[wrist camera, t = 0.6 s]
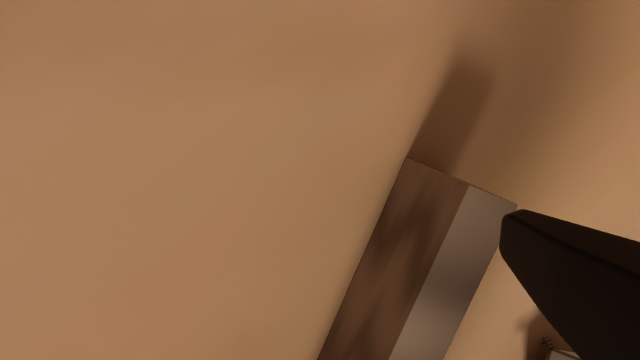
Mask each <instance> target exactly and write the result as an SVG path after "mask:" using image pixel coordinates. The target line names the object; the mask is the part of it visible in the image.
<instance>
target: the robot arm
mask: <svg viewBox="0 0 640 360" xmlns="http://www.w3.org/2000/svg"><path fill="white" fill-rule="evenodd" d="M499 249H500V253H501V255H502V257H503V259H504V261H505V262H506V263H507V265H508V266H509V268H510V269H511V270H512V272H513V273H514V275H515V276H516V277H517V279H518V280H519V282H520V283H521V284H522V286H523V287H524V289H525V290H526V291H527V293H528V294H529V296H530V297H531V299H532V300H533V301H534V303H535V304H536V306H537V307H538V308H539V310H540V311H541V312H542V314H543V315H544V316H545V318H546V319H547V320H548V322H549V323H550V324H551V325H552V326H553V328H554V329H555V330H556V331H557V332H558V334H559V335H560V336H561V337H562V338H563V339H564V340H565V342H566V343H567V344H568V345H569V346H570V347H571V348H572V350H573V351H574V352H575V353H576V354H577V355H578V357H579V358H580V359H581V360H640V242H638V241H634V240H631V239H627V238H624V237H620V236H617V235H613V234H610V233H606V232H603V231H599V230H596V229H592V228H589V227H585V226H582V225H578V224H575V223H571V222H568V221H564V220H561V219H557V218H554V217H550V216H547V215H543V214H540V213H536V212H533V211H529V210H525V209H521V210H517V211H514V212H511V213H508V214H506V215H504V216H503V218H502V221H501V231H500V242H499Z"/></svg>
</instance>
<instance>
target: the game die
mask: <svg viewBox="0 0 640 360" xmlns="http://www.w3.org/2000/svg"><path fill="white" fill-rule="evenodd" d="M550 341H551V340H548V339H546V338H545V337H544V343H543V344H545V347H547V348H548V349H549V351H548V353H547V356H546V358H545V360H581V359H580V358H579V357H578V355H577V354H576V353H575V352H574V351H568V350H562V349H556V348H553V346H552V343H551V342H550Z"/></svg>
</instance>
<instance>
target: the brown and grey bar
mask: <svg viewBox="0 0 640 360" xmlns="http://www.w3.org/2000/svg"><path fill="white" fill-rule="evenodd" d="M517 206H518V205H517V204H515V203H513V202H510V201H508V200H506V199H503V198H501V197H499V196H497V195H494V194H492V193H490V192H487V191H485V190H483V189H481V188H478V187H476V186H474V185H471V184H469V183H467V182H464V181H462V180H460V179H458V178H455V177H453V176H451V175H448V174H446V173H444V172H441V171H439V170H436V169H434V168H431V167H429V166H426V165H424V164H421V163H419V162H416V161H414V160H411V159H409V158H407V157H406V159H405V161H404V163H403V166H402V168H401V170H400V173H399V175H398V177H397V179H396V182H395V184H394V186H393V189H392V191H391V193H390V195H389V198H388V200H387V202H386V204H385V207H384V209H383V211H382V214H381V216H380V218H379V220H378V223H377V225H376V227H375V230H374V232H373V234H372V236H371V239H370V241H369V243H368V246H367V248H366V250H365V252H364V255H363V257H362V259H361V262H360V264H359V266H358V268H357V271H356V273H355V275H354V278H353V280H352V282H351V284H350V287H349V289H348V291H347V294H346V296H345V298H344V300H343V303H342V305H341V307H340V309H339V312H338V314H337V316H336V319H335V321H334V323H333V325H332V328H331V330H330V332H329V335H328V337H327V339H326V341H325V344H324V346H323V348H322V351H321V353H320V355H319V357H318V360H443V358H444V356H445V354H446V352H447V350H448V348H449V346H450V344H451V342H452V340H453V338H454V335H455V333H456V331H457V329H458V327H459V325H460V323H461V321H462V319H463V317H464V315H465V313H466V311H467V309H468V307H469V305H470V302H471V300H472V298H473V296H474V294H475V292H476V290H477V288H478V286H479V284H480V282H481V280H482V278H483V276H484V274H485V272H486V269H487V267H488V265H489V263H490V261H491V259H492V257H493V255H494V253H495V251H496V249H497V247H498V245H499V242H500V231H501V221H502V218H503V216H504V215H506V214H508V213H511V212H514V211H515V210H516V208H517Z"/></svg>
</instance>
